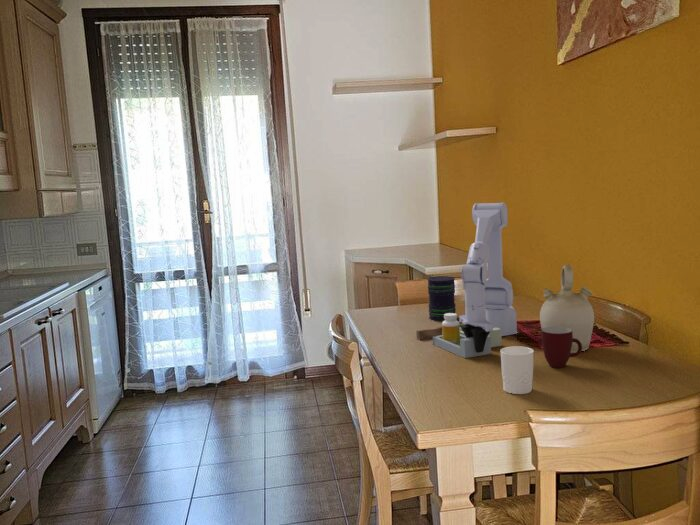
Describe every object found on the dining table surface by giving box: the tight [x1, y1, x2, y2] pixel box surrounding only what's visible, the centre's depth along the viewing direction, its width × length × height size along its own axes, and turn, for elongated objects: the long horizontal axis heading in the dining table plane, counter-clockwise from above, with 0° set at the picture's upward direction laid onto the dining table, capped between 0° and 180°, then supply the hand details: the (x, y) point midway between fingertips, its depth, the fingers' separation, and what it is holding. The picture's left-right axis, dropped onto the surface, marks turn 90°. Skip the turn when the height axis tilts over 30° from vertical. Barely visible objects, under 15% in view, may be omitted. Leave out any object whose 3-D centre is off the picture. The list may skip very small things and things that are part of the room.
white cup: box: [499, 345, 535, 395], centre depth 161 cm, size 8×8×10 cm
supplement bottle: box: [441, 312, 461, 346], centre depth 205 cm, size 5×5×10 cm
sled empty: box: [460, 327, 502, 348], centre depth 209 cm, size 6×19×5 cm, turn 23°
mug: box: [540, 327, 582, 369], centre depth 178 cm, size 11×8×10 cm
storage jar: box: [427, 275, 457, 322], centre depth 241 cm, size 10×10×15 cm
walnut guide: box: [416, 322, 466, 341], centre depth 208 cm, size 19×22×3 cm
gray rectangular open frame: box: [431, 334, 492, 359], centre depth 200 cm, size 9×19×5 cm, turn 23°
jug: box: [539, 264, 595, 354], centre depth 194 cm, size 15×16×25 cm
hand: (476, 350), depth 193 cm, fingers open, 3 cm apart
